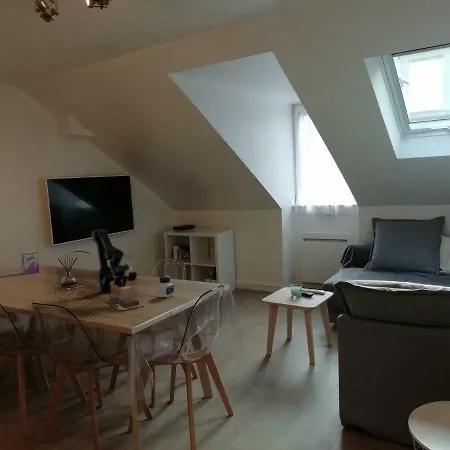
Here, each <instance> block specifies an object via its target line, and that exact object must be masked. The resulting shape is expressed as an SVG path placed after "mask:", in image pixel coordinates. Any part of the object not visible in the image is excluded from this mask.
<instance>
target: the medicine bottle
mask: <svg viewBox="0 0 450 450" xmlns="http://www.w3.org/2000/svg"><path fill="white" fill-rule="evenodd" d="M174 287H175V286H174V283H171V277H170V276H168V275H163V276H160V277H159V284H158V285H156V295H157V294H160V295H169V294H171V293H173V292H174V291H175V289H174ZM174 293H175V292H174Z"/></svg>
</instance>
